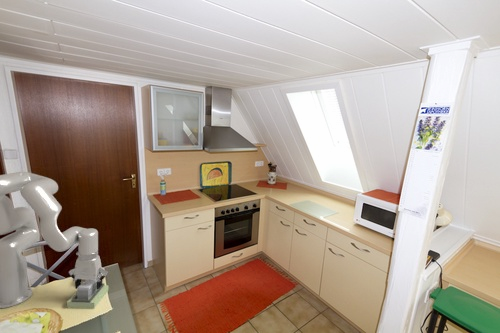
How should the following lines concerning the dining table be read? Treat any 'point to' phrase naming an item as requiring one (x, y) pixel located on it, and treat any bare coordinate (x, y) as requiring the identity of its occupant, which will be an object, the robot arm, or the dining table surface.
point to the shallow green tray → (92, 300)
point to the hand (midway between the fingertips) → (88, 287)
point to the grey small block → (86, 289)
